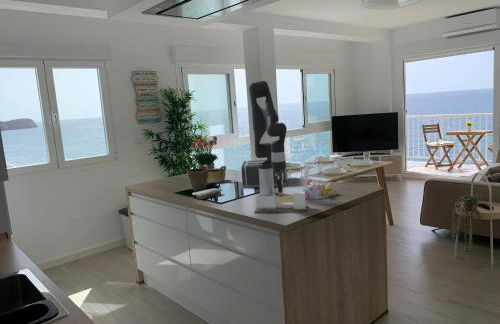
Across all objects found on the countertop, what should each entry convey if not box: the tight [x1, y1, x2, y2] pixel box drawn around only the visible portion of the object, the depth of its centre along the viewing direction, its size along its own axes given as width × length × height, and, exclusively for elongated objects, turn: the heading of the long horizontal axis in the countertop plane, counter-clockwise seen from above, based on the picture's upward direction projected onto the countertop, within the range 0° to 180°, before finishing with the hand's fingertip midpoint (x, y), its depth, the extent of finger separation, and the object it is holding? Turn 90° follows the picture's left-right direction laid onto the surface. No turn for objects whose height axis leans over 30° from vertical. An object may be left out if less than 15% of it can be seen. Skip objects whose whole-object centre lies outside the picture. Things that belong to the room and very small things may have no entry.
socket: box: [292, 191, 307, 209], centre depth 215 cm, size 6×6×8 cm
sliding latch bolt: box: [275, 182, 294, 204], centre depth 216 cm, size 3×17×12 cm, turn 80°
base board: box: [254, 204, 309, 214], centre depth 217 cm, size 12×28×1 cm, turn 80°
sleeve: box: [256, 193, 278, 210], centre depth 218 cm, size 5×10×7 cm, turn 80°
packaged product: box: [192, 188, 223, 200], centre depth 263 cm, size 18×5×10 cm
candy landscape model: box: [299, 179, 338, 200], centre depth 247 cm, size 25×24×9 cm
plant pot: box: [186, 167, 208, 192], centre depth 285 cm, size 15×15×16 cm
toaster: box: [240, 158, 291, 189], centre depth 294 cm, size 30×36×17 cm
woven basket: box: [201, 164, 227, 184], centre depth 312 cm, size 22×17×15 cm
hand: (280, 191), depth 216 cm, fingers closed on sliding latch bolt, 3 cm apart
